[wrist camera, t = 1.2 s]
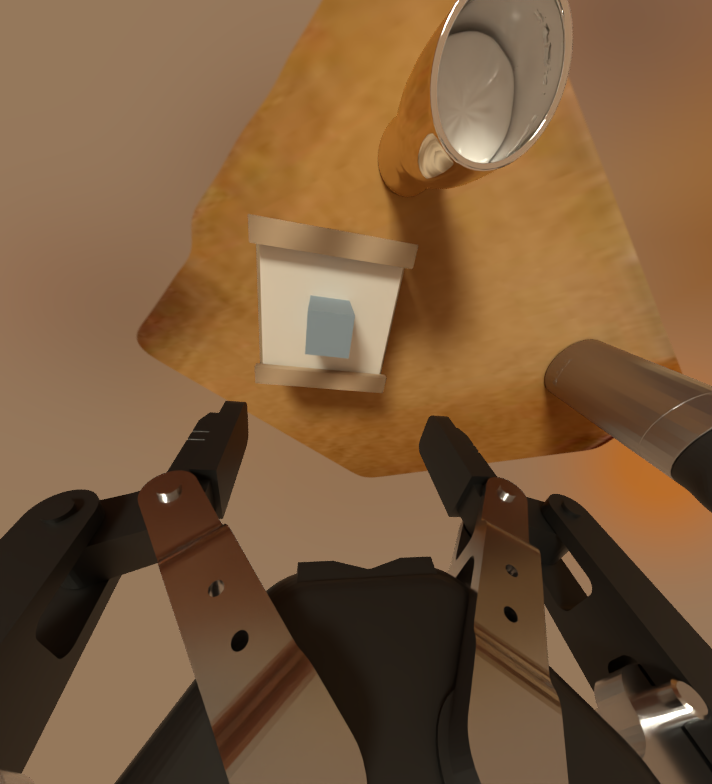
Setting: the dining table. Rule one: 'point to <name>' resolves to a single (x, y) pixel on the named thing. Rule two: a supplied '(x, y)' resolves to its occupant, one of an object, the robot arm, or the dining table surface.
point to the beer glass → (478, 93)
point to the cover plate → (330, 282)
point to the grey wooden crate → (332, 245)
